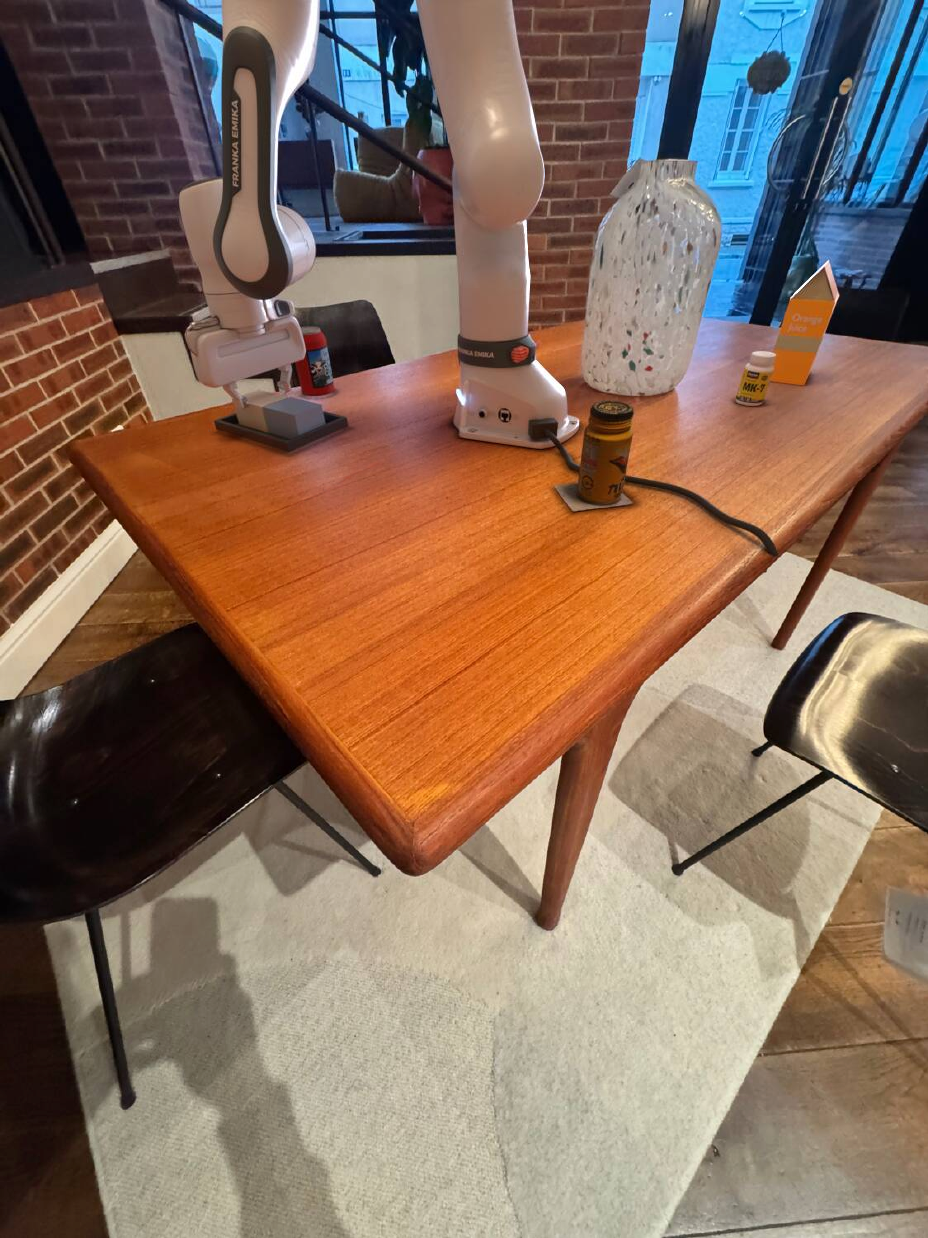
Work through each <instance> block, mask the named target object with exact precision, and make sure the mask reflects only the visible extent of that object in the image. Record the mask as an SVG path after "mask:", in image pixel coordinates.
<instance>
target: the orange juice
mask: <svg viewBox="0 0 928 1238" xmlns="http://www.w3.org/2000/svg"><path fill="white" fill-rule="evenodd" d="M839 297H840V293H839V290H838V287H837V283H836V281H835V277H834V274H833V270H832V267H831V263H830V259H827V261H826V262H825V263H824V264H823V265H822V266H821V267H819V269H818V270H817V271H816V272H815V273H814V274H813V275H811V276H810V278H808V280H806V281H805V282H804V283H803V284H802V285H801V286H800V287H799V288H798V289H797V290H796V291H795V292H794V293H793V295H791V297H790V298H789V302H788V305H787V308H786V311H785V313H784V315H783V320H782V323H781V326H780V329H779V333H778V335H777V338H776V341H775V344H774V347H773V350H772V353H774V354H776V358H775V362H774V364H772V366H773V367H774V371H773V374H772V377H771V379H770V382H772V383H773V382H774V383H782V384H789V385H796V386H797V385H798V386H805V385H806V382H807V380H808V378H809V375H810V373H811V371H812V368H813V365H814V362H815V360H816V357H817V354H818V352H819V350H820V346H821V345H822V342H823V340H824V337H825V334H826V331H827V328H828V326H829V324H830V320H831V318H832V315H833V314H834V310H835V307H836V305H837V301H838V300H839Z"/></svg>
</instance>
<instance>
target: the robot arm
mask: <svg viewBox="0 0 928 1238" xmlns="http://www.w3.org/2000/svg"><path fill="white" fill-rule="evenodd" d="M220 3H221V21H222V53H221V54H222V55H221V56H222V57H221V59H222V61H221V84H220V85H221V87H220V89H221V91H220V95H221V97H220V99H221V101H220V104H221V105H220V107H221V159H222V160H221V162H222V163H221V164H222V176H211V177H209V178H203V179H198V180H195V181H192V182H190V183H188V184H186V185H185V186H184V187H183V188H182V189H181V191H180V192H179V195H178V204H179V211H180V215H181V216H180V217H181V222H182V225H183V230H184V233H185V237H186V240H187V244H188V248H189V251H190V254H191V257H192V260H193V262H194V263H195V266H196V267H197V269H198V270H199V273H200V277H201V282H202V292H203V294H204V295H203V296H205V301H206V305H207V307H208V310H209V313H210V316H211V317H207V318H204V319H202V320H194V321H191V322H190V323H189V326H187V328H186V329H185V333H184V339H185V342H186V345H187V347H188V349H189V351H190V356H191V359H192V360H191V361H192V364H193V368H194V372H195V376H196V378H197V381H198V382H199V383H200V384H201V385H203V386H205V387H208V388H213V389H217V388H220V387H222V389H223V390H224V392H226V393H227V394H228V396H229V397H231V399H233V400H234V403H235V406H236V408H237V409H244V408H247V407H249V404H248V403H247V398H246V397H245V396H242V395H241V394H240V393H238V391H237V390H236V389H238V385H237V382H239V381H242V380H245V379H248V378H251V377H254V376H257V375H260V374H263V373H265V372H269V371H272V370H276V369H277V370H278V371H280V380H279V381H276V383H277V387H278V391H279V393H280V394H287V393H290V392H292V385H291V378H292V373H293V368H292V367H293V366H292V364H293V363H295V362H297V361H300V360H303V359H304V357H305V353H306V348H305V343H304V339H303V335H302V332H301V328H300V327H301V326H300V323H299V321H298V319H297V318H296V317H295V316H293V315H294V314H295V305H294V303H293V301H292V300H290V299H286V298H280V297H277V296H279V295H280V294H281V293H282V292H284V291H285V289H286V288H288V287H290V286H292V285H294V284H295V283H297V282H298V281H300V280H302V279H303V278H304V277H305V276H307V274H309V273H310V272H311V270H312V269H313V267H314V265H315V262H316V257H317V247H316V246H317V244H316V240H315V236H314V234H313V231H312V229H311V227H310V225H309V223H308V222H307V220H306V219H305V218H304V217H303V216H302V215H301V214H299V212H297V211H296V210H294V209H292V208H289V207H287V206H285V205H281V204H277V203H278V157H279V156H278V155H279V154H278V153H279V133H280V125H281V121H282V117H283V115H284V112H285V109H286V107H287V105H288V103H289V102H290V100H291V99H292V97H293V96H294V94H295V93H296V92H297V91H298V89H299V88H300V87H301V86H302V85H303V84H305V82H306V81H307V80H308V79H309V77H310V75H311V74H312V73H313V71H314V67H315V61H316V55H317V50H318V49H317V47H318V43H319V42H318V40H319V33H320V32H319V31H320V17H321V15H320V14H321V13H320V12H321V11H320V10H321V0H221V1H220ZM415 5H416V9H417V14H418V18H419V22H420V23H419V24H420V28H421V33H422V38H423V42H424V47H425V52H426V57H427V61H428V66H429V70H430V74H431V79H432V83H433V86H434V89H435V94H436V97H437V101H438V104H439V108H440V113H441V116H442V120H443V124H444V129H445V132H446V136H447V140H448V144H449V149H450V153H451V157H452V161H453V165H452V171H451V172H452V174H451V182H452V183H451V185H452V203H453V204H452V205H453V206H452V207H453V221H454V237H455V253H456V266H457V281H458V284H457V285H458V313H459V315H458V316H459V317H458V318H459V333H458V334H457V359H458V365H459V382H458V388H456V395H457V401H456V406H455V411H454V416H453V421H452V423H453V425H454V426H455V427H456V428H457V429H458V436H459V437H460V438H462V439H468V440H473V441H474V440H475V441H482V442H488V443H489V442H490V443H497V444H503V445H509V446H517V447H523V448H531V449H539V450H542V449H549V448H552V447H556V449H557V451H558V452H559V453H560V455H561V456H562V457H563V460H565V463H566V465H567V466H568V468H570V469H571V470H572V471H575V472H577V473H578V474H579V471H580V464H577V463H575V462H574V461H573V460H572V458H571V456H570V454H569V453H568V451H567V449H566V447H564V446H563V444H562V443H564V442H566V441H568V440H569V439H571V438H572V437H573V436H575V434H577V432H578V431H579V429H580V419H579V418H578V417H576V416H573V415H570V414H569V413H568V398H567V392H566V390H565V388H564V386H562V385H561V384H560V383H559V382H558V381H557V379H555V378H554V376H552V375H551V374H550V372H549V371H548V370H547V369H546V368H545V367H544V366H543V365H542V364H541V363H540V362H539V361H538V360H537V355H536V352H537V351H536V350H539V349H541V348H542V346H541V344H542V342H543V340H541V339H540V340H537V341H534V340H533V338H532V337H531V334H530V333H529V331H528V330H529V314H530V313H529V312H530V311H529V309H530V287H531V286H530V285H531V271H530V263H529V252H528V251H529V250H528V231H527V229H528V228H527V219H528V218H529V217H530V216H531V214H532V213H533V212H534V211H535V209H536V207H537V205H538V203H539V201H540V198H541V196H542V192H543V189H544V184H545V164H544V163H545V162H544V158H543V155H542V151H541V147H540V140H539V135H538V131H537V130H538V129H537V125H536V121H535V115H534V110H533V105H532V99H531V95H530V91H529V87H528V83H527V78H526V74H525V70H524V66H523V61H522V57H521V52H520V47H519V41H518V35H517V27H516V20H515V12H514V7H513V0H415ZM624 483H630V484H634V485H639V486H644V487H650V488H656V489H661V490H665V491H668V492H673V493H676V494H679V495H681V496H684V497H686V498H687V499H690V500H692V501H694V502H695V503H697V504H698V505H700V506H701V507H702V508H704V509H705V510H706V511H707V512H708V513H709V514H710V515H712V516H713V517H715V518H716V519H718V520H720V521H721V522H723V523H725V524H727V525H730V526H732V527H735V528H738V529H741V530H744V531H746V532H748V533H750V534H753V535H754V536H755V537H756V538H757V539H759V541H760V542H761V543H762V545H763V546H764V547H765V550H766V552H767V554H768V555H770V556H772V557H778V556H779V554H778V553H779V552H778V549H777V547H776V545H775V543H774V541H773V539H772V538H771V537H770V536H769V535H768V534H767V533H766V531H764V530H763V529H762V528H760V527H759V526H757V525H754V524H753V523H751V522H750V523H749V522H747V521H744V520H741V519H739V518H735V517H732V516H730V515H729V514H727V513H725V512H723V511H722V510H720V509H719V508H718V507H716V506H715V505H714V504H713V503H711V502H710V501H709V500H707V499H706V498H705V497H703V496H701V495H700V494H698V493H697V492H694V491H692V490H691V489H687V488H684V487H682V486H680V485H675V484H672V483H668V482H664V481H659V480H653V479H647V478H643V477H637V476H631V475H627V474H626V475H625V481H624Z"/></svg>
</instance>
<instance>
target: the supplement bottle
mask: <svg viewBox="0 0 928 1238" xmlns="http://www.w3.org/2000/svg"><path fill="white" fill-rule="evenodd" d="M775 358H776V354H774V353H773V351H772V352H771V351H766V350H765V351H764V350H757V351H752V352H751V355H750V357H749V361H748V363H746V365H745V367H744V369H743V372H742V375H741V380H740V381H739V385H738V389H737V392H736V395H735V398H734V400H735V402H736V403H737V404H739V405H742V406H747V407H757V406H761V405H762V404H763V402H764V400H765V397H766V394H767V391H768V388H769V385H770V382H771V381H770V379H771V377H772V374H773V371H774V367H773V366H772V364H774V362H775Z"/></svg>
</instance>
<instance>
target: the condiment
mask: <svg viewBox="0 0 928 1238" xmlns="http://www.w3.org/2000/svg"><path fill="white" fill-rule="evenodd" d="M634 414H635V409H634V407H633V406H632V405H631V404H630V403H627V402H624V401H618V400H601V401H597V402H595V403H593V405H591V407H590V408H589V416H588V419H587V421H588V424H587V425H586V426H585V428H584V431H583V437H582V438H583V440H582V447H581V456H580V463H579V466H580V471H579V473H578V479H577V482H575V483H569V484H558V485H554V488H555V489H556V491H557V492H558V494H559V495H560V497H561V498H562V499H563V502H564V503H566V504H567V506H568V507H569V508H570V510H571V511H572V512H578V511H586V510H594V509H605V508H611V507H621V506H626V505H631V504H634V502H633V501H632V500H630V498H629V497H627V496H626V494H625V493H623V489H624V486H625V482H624V481H625V475H627V468H628V464H629V458H630V453H631V448H632V447H631V446H632V442H633V436H634V430H633V427H632V425H633V417H634Z"/></svg>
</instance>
